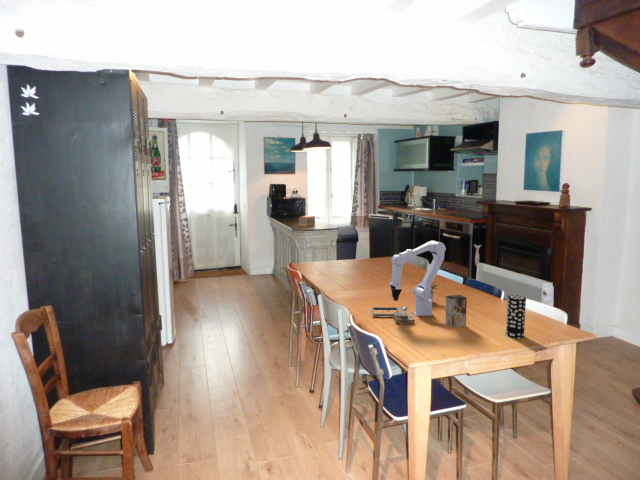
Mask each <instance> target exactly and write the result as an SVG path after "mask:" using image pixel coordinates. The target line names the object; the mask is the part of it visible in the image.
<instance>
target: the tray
mask: <svg viewBox="0 0 640 480" xmlns="http://www.w3.org/2000/svg"><path fill="white" fill-rule="evenodd" d="M370 307H371V308H370V309H371V310H372V311H371V315H372V314H373V316H394V314H402V312H401V311H400V309H399V307H398V306H395V307H394V306H370ZM374 310H388V311H386V312H389V311H390V310H397V311H396V312H394V313H393V314H383V313H384V311H383V312H382V314H380V313H374ZM390 313H391V312H390ZM373 316H372V317H373Z"/></svg>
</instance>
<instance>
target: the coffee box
mask: <svg viewBox="0 0 640 480" xmlns="http://www.w3.org/2000/svg"><path fill="white" fill-rule="evenodd" d="M467 301H468V300H467V296H464V295H462V294H455V295H454V294H453V295H452V294H451V295H446V296H445V325H446V326H448V327H450V328H459V327H466V326H467Z"/></svg>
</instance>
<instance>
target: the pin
mask: <svg viewBox="0 0 640 480" xmlns="http://www.w3.org/2000/svg"><path fill="white" fill-rule="evenodd" d="M408 309H409V307H408V306H401V307H400V310H401V314H402V317H401V318H407V314H408Z"/></svg>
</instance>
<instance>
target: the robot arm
mask: <svg viewBox="0 0 640 480" xmlns="http://www.w3.org/2000/svg"><path fill="white" fill-rule="evenodd" d="M446 250H447V248H446V245H445V244H444V243H443V242H441V241H436V240H430V241H427V242H426V243H424V244H422V245H420V246H418V247H416V248H413V249H412V248H411V249H410V248H409V249H408V248H407V249H406V250H405V251H403V252H399V253H398V254H394V255H393V256H392V257H391V259H390V262H391V263H392V265H391V266H392V268H391V269H392V270H391V281H390V282H388V284H389V286H390V290H391V297H392V299H393V301H395V302H398V301H399V299H400V294H401V292H402V289H401V288H400V287H401V286H403V285H402V279H403V266H404V265H405V263H407V262H409V261H411V260H413V259H415V258H416V256H418V255H420V254H422V253H425V252H430V253H431V254H432V257H433V258H432V261H431V263H430V265H429V267H428V269H427V271H426V273H425V274H424V277H423V278H422V280H423V281H422V280H421V281H420V282H419V283H418V284H417V286H415V288H414V289H413V295H414V297H415V298H414V299H415V303H414V304H415V309H414V311H413V313H414V315H415V316H416V317H417V316H418V317H419V316H420V317H421V316H422V317H424V316H426V317H427V316H429V317H431V316H433V302H432V300H431V299H429V298H430V294H431V291H433V290H432V289H431V284H432V283H434V280H435V278H436V276H437V274H438V272H439V270H440V268H441V266H442V264H443V262H444V260H445V252H446Z"/></svg>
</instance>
